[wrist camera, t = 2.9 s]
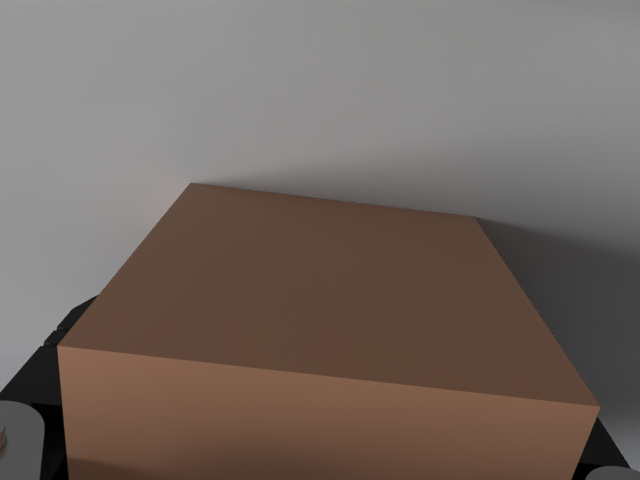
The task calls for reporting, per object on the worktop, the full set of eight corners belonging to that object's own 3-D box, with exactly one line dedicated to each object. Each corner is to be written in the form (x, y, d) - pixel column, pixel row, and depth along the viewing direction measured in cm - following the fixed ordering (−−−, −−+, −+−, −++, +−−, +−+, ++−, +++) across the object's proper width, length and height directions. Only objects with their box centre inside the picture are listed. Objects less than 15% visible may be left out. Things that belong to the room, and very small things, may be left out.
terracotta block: (191, 181, 9) (57, 345, 5) (473, 215, 10) (600, 406, 5) (186, 407, 11) (86, 675, 7) (419, 433, 12) (476, 713, 7)
